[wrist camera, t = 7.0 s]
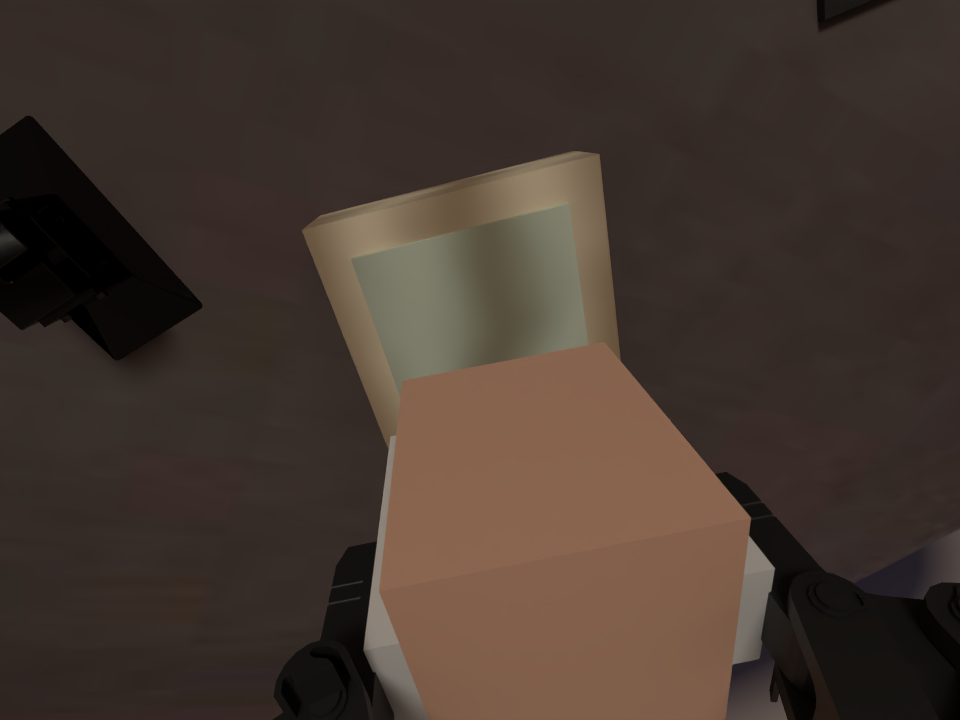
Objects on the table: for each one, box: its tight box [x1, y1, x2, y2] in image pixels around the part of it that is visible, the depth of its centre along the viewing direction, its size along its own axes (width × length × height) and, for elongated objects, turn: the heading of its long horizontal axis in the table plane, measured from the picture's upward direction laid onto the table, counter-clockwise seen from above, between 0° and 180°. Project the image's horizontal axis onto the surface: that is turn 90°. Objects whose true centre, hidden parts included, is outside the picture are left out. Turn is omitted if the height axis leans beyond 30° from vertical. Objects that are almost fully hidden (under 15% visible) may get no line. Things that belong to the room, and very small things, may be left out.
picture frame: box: [302, 151, 621, 449], centre depth 23 cm, size 12×14×4 cm
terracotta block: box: [379, 342, 751, 720], centre depth 12 cm, size 6×6×7 cm
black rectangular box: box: [0, 116, 202, 360], centre depth 20 cm, size 12×7×5 cm, turn 29°
